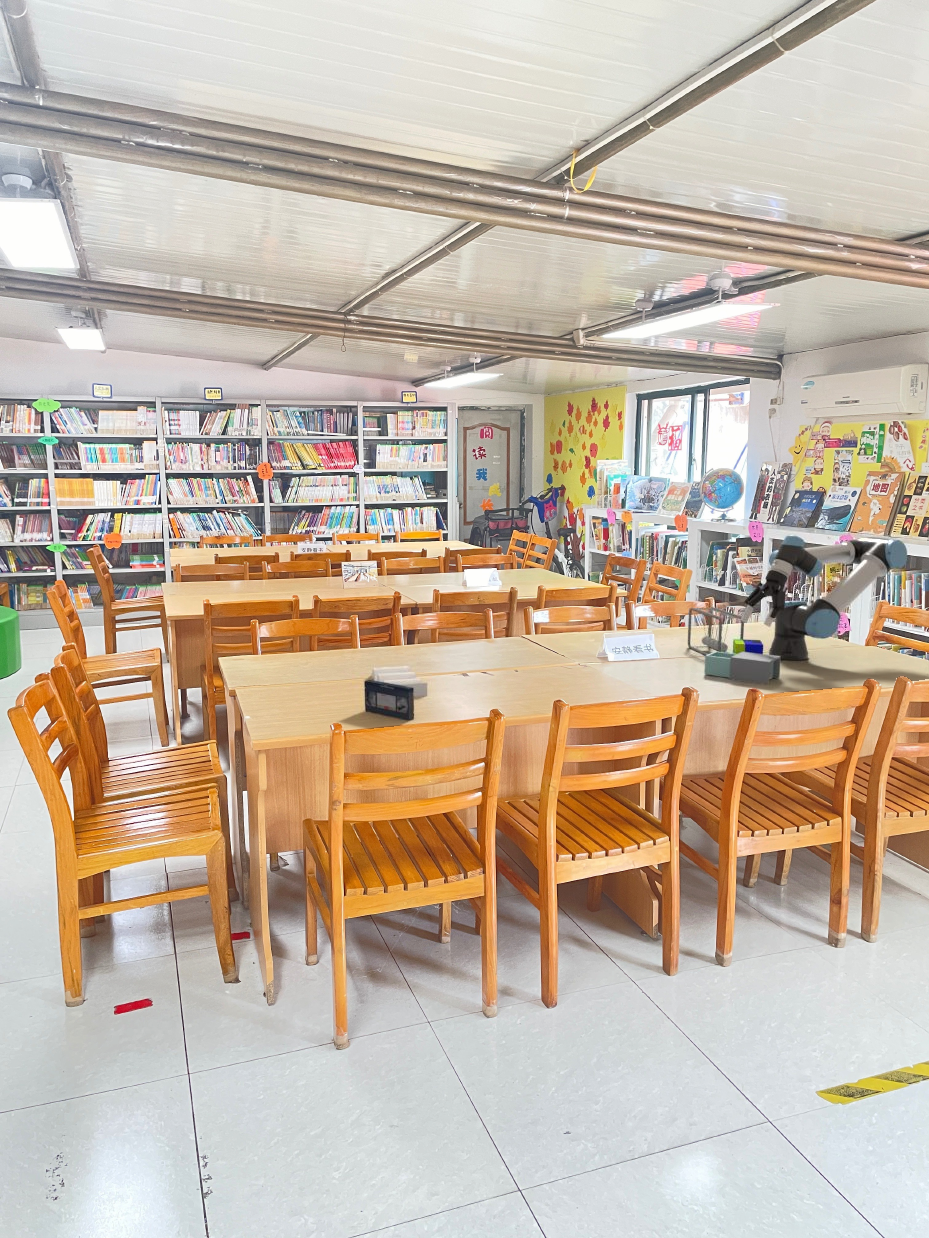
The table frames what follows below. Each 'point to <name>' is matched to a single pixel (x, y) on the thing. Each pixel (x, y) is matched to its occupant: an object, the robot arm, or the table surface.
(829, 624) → the robot arm
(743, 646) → the puzzle toy
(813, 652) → the table surface
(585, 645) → the table surface
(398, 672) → the file organizer
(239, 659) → the table surface
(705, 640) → the newton's cradle
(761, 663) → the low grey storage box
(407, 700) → the vhs cassette tape
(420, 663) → the table surface
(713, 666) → the sliding matchbox
